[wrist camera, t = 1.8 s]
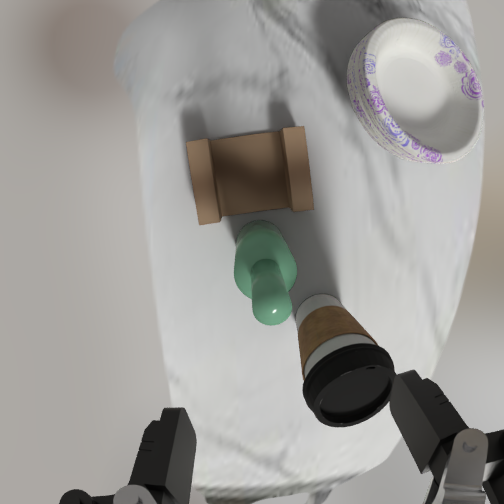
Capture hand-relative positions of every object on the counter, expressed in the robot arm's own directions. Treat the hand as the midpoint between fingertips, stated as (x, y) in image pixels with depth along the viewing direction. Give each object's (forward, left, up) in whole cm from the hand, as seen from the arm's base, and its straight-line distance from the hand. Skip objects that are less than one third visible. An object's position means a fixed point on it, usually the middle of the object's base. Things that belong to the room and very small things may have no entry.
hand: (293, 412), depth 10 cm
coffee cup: (+10, +6, -24) cm, 26 cm away
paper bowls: (-15, +18, -24) cm, 33 cm away
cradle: (-8, 0, -24) cm, 25 cm away
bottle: (0, 0, -24) cm, 24 cm away
